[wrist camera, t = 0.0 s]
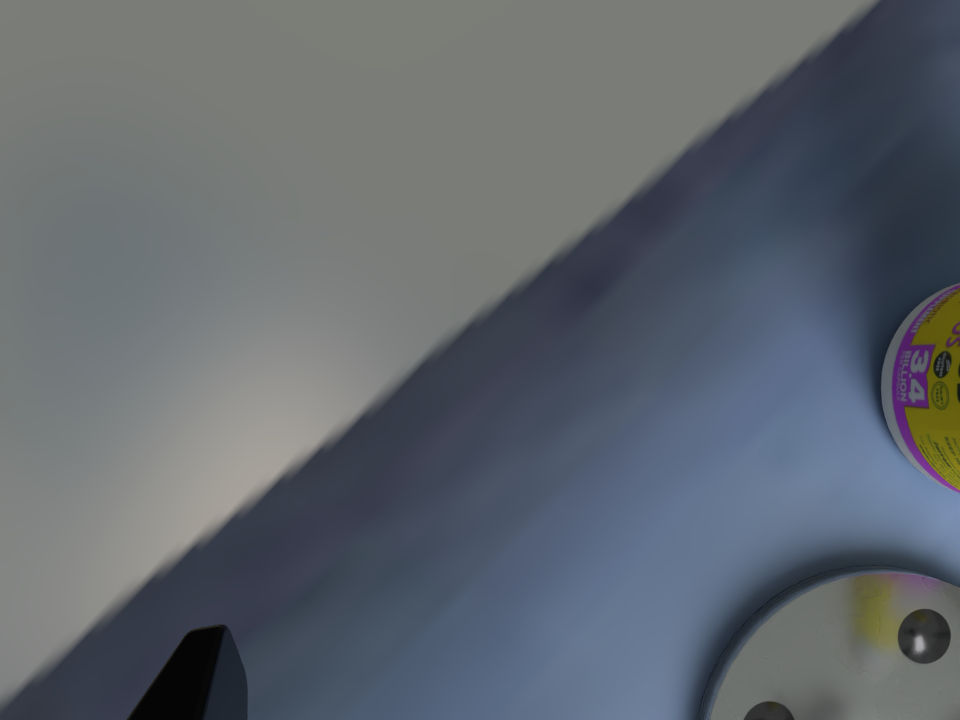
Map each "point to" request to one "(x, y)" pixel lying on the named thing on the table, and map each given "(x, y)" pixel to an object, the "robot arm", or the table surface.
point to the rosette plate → (845, 652)
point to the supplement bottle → (927, 387)
